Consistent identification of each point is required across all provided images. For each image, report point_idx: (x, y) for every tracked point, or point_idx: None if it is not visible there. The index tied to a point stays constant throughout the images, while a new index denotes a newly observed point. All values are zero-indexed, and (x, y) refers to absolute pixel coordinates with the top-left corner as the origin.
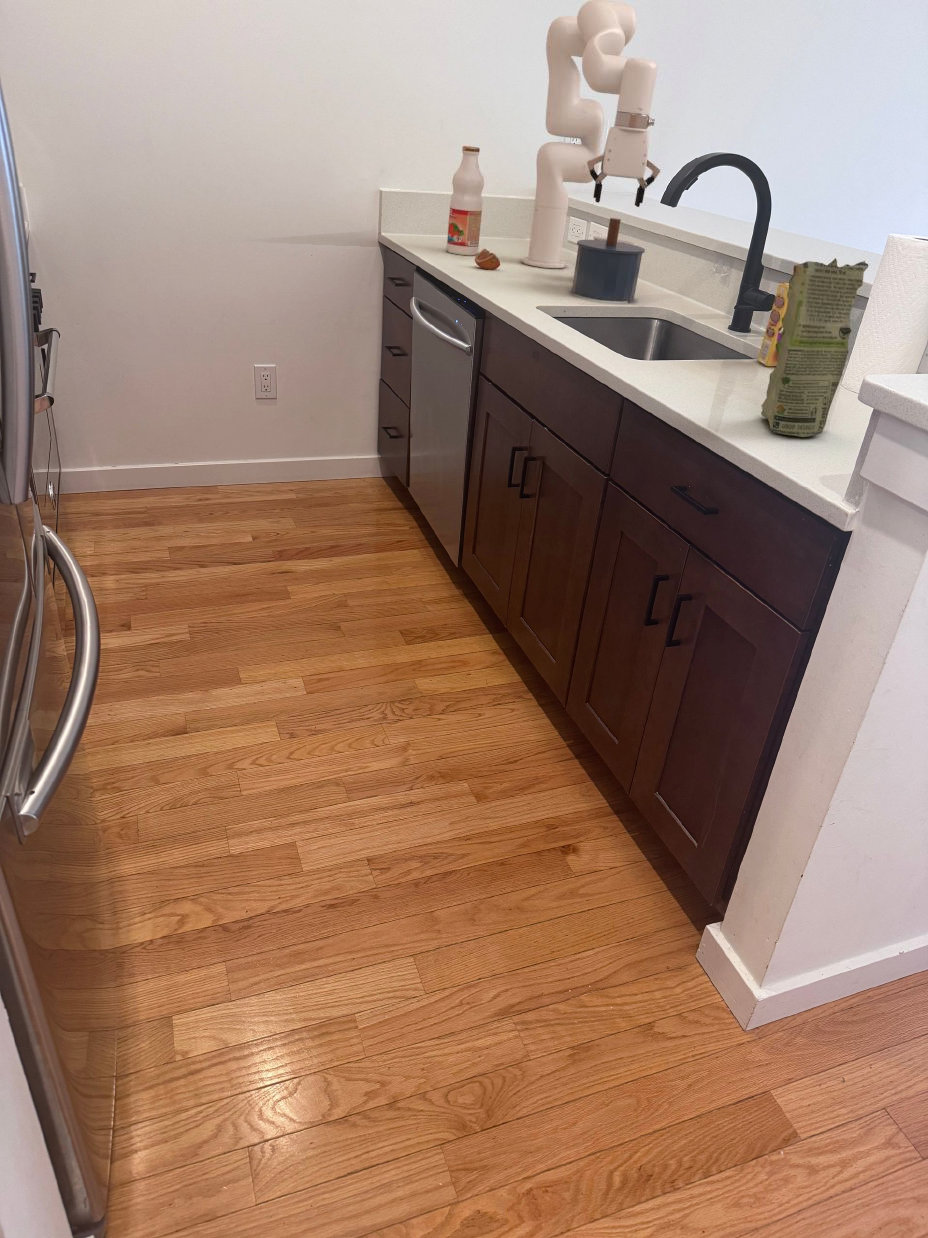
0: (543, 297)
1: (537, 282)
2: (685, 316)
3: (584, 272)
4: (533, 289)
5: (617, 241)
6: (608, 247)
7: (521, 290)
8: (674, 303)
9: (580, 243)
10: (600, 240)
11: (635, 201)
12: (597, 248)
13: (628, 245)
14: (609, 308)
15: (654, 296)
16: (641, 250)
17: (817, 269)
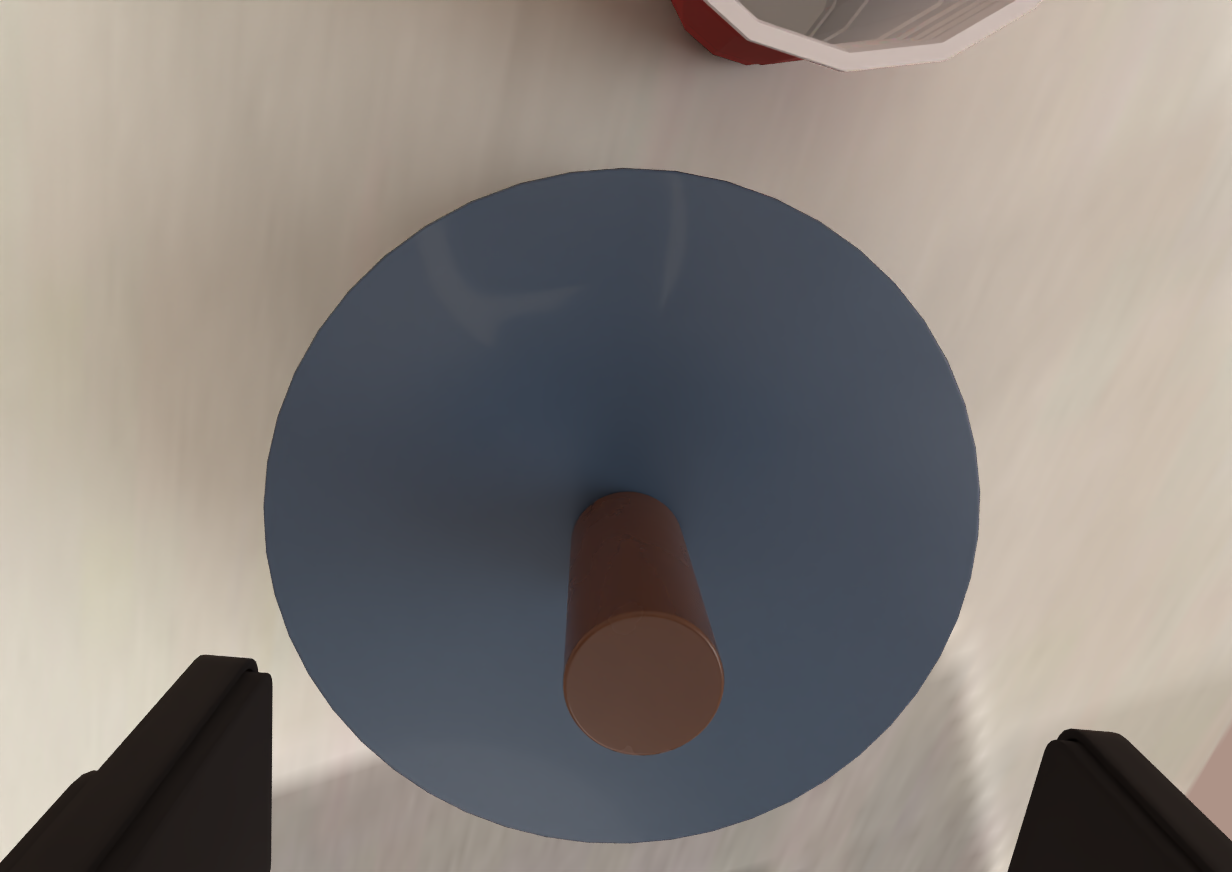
0: (193, 589)
1: (182, 38)
2: (982, 791)
3: None
4: (138, 349)
5: (845, 63)
6: (556, 701)
7: (51, 420)
8: (1086, 452)
9: (284, 599)
10: (590, 208)
11: (1075, 811)
12: (426, 787)
13: (855, 432)
14: None
15: (1037, 253)
16: (884, 706)
17: None
